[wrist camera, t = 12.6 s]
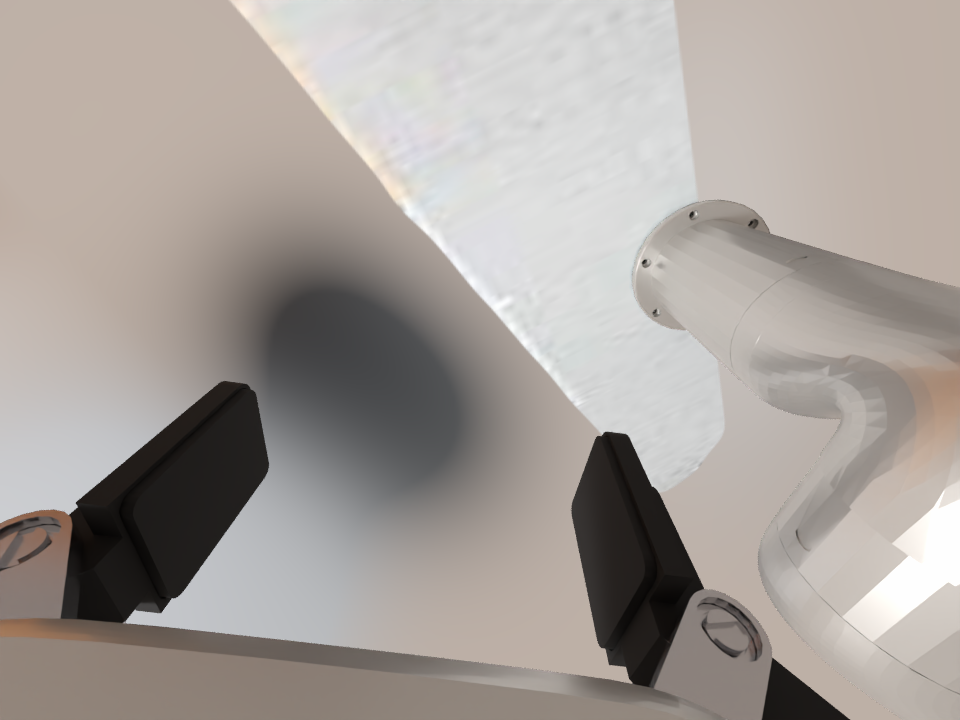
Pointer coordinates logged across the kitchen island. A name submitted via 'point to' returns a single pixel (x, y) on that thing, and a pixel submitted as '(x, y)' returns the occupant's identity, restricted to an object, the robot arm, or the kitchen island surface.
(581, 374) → the kitchen island surface
